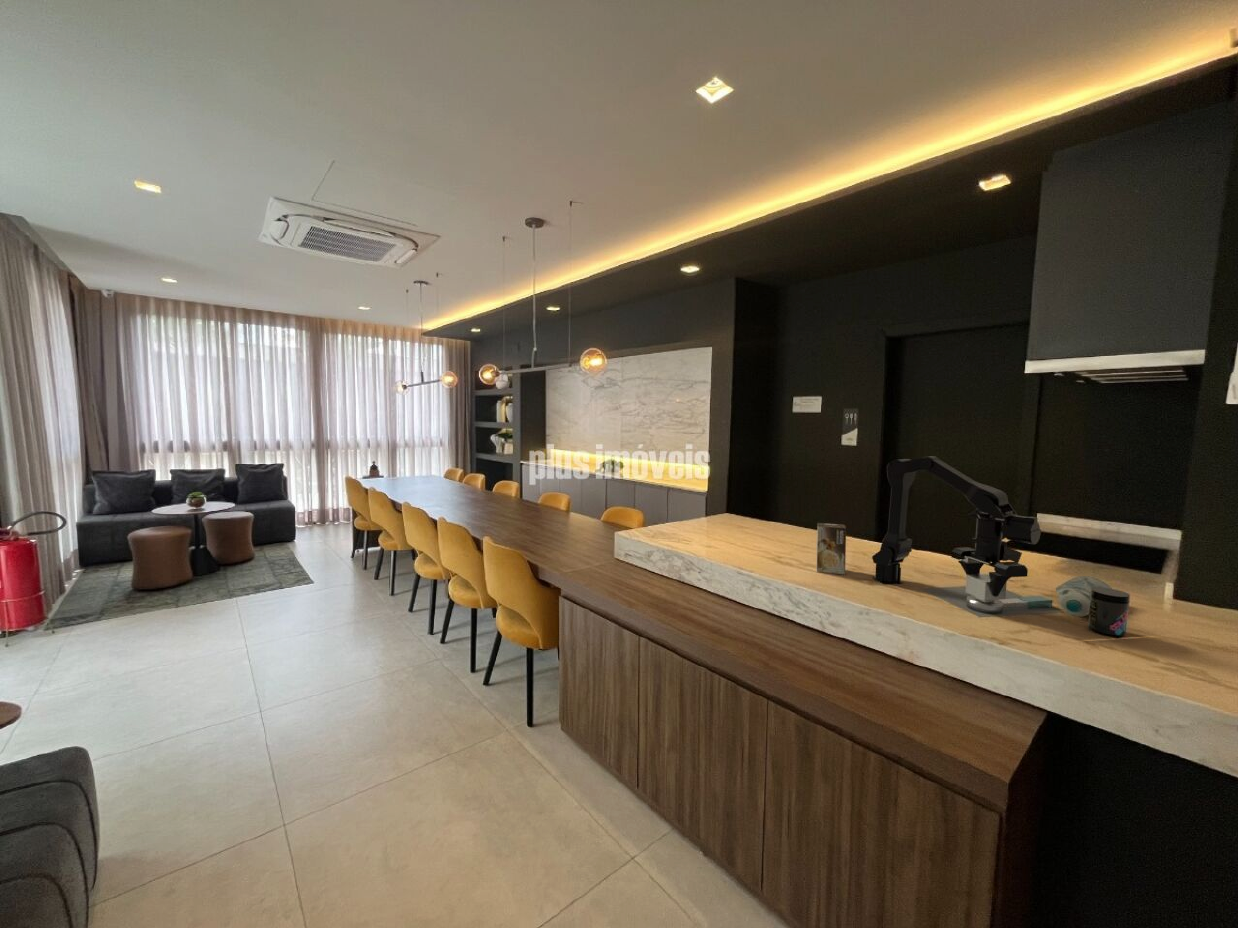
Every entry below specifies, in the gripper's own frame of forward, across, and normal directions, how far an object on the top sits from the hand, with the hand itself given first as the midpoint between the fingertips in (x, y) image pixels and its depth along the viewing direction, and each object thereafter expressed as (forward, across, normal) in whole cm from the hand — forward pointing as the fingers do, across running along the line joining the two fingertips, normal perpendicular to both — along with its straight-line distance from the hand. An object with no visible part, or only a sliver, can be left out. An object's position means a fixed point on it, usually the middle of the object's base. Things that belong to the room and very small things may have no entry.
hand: (985, 591), depth 134 cm
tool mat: (+5, +6, -6) cm, 10 cm away
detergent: (+5, -3, -27) cm, 28 cm away
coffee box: (+5, +38, +23) cm, 45 cm away
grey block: (+1, 0, 0) cm, 1 cm away
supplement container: (+5, -17, -17) cm, 25 cm away
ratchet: (+5, 0, -7) cm, 9 cm away
